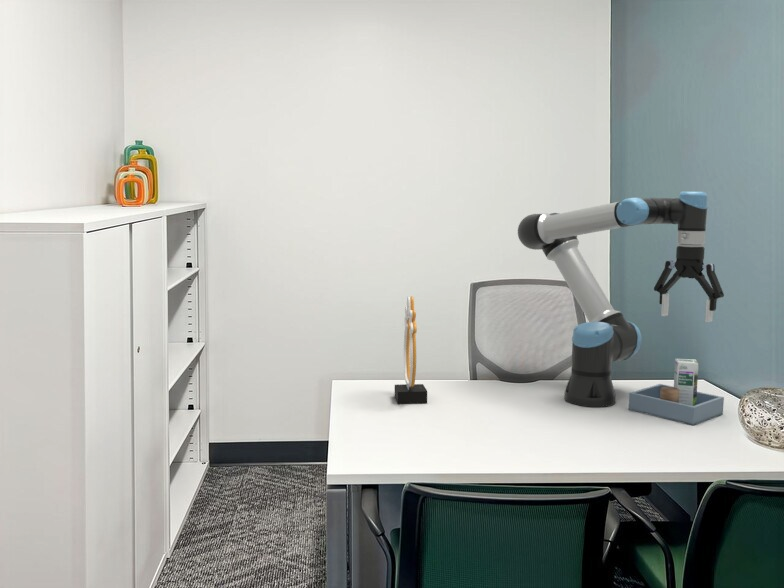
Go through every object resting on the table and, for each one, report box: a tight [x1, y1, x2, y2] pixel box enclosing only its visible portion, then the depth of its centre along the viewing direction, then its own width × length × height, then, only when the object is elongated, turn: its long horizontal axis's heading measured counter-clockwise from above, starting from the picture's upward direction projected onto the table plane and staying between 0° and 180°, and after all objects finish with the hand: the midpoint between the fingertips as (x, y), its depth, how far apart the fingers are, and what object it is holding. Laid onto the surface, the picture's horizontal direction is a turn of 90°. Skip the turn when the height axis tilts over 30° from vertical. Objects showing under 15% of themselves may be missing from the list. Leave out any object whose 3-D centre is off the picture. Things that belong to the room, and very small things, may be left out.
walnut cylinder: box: [660, 386, 679, 403], centre depth 220 cm, size 5×5×7 cm
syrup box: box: [673, 358, 699, 406], centre depth 224 cm, size 6×6×14 cm
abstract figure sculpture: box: [394, 296, 428, 405], centre depth 232 cm, size 17×9×32 cm, turn 6°
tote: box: [628, 383, 725, 426], centre depth 223 cm, size 20×17×5 cm
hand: (686, 318), depth 224 cm, fingers open, 13 cm apart
